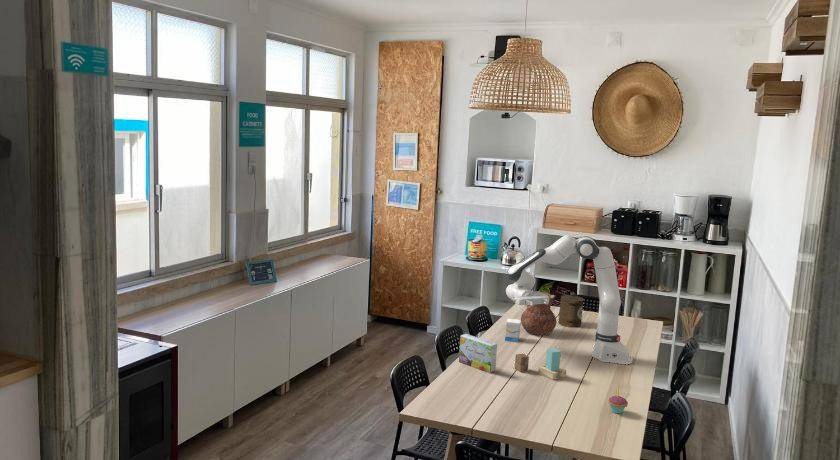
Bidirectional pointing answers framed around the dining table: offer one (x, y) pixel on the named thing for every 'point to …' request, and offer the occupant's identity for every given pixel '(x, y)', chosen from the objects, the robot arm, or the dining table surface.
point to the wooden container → (570, 310)
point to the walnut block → (521, 362)
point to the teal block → (553, 359)
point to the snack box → (478, 353)
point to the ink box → (512, 330)
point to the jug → (539, 318)
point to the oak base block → (552, 373)
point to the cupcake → (617, 403)
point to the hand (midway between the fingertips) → (540, 303)
